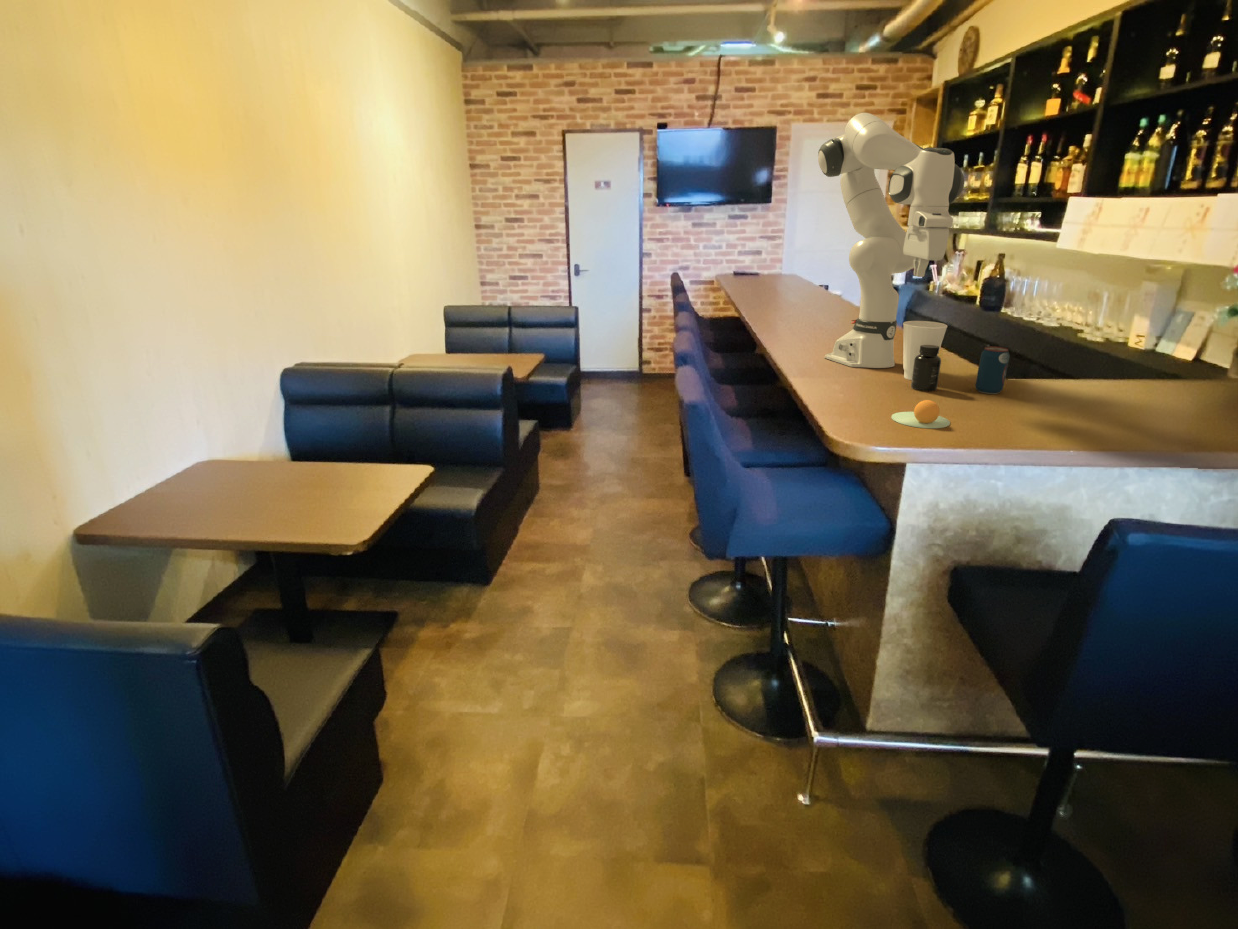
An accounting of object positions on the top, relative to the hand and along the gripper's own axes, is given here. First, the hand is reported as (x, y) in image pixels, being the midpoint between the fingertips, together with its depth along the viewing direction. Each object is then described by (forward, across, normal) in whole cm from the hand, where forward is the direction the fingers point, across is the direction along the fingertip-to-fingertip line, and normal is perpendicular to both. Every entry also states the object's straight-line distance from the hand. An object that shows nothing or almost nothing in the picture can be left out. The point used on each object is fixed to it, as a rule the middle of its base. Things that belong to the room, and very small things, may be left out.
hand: (918, 276), depth 177 cm
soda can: (+31, -6, +25) cm, 41 cm away
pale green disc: (+31, +24, -3) cm, 39 cm away
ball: (+28, +26, -2) cm, 39 cm away
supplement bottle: (+31, -7, +8) cm, 33 cm away
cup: (+31, -20, +11) cm, 38 cm away
